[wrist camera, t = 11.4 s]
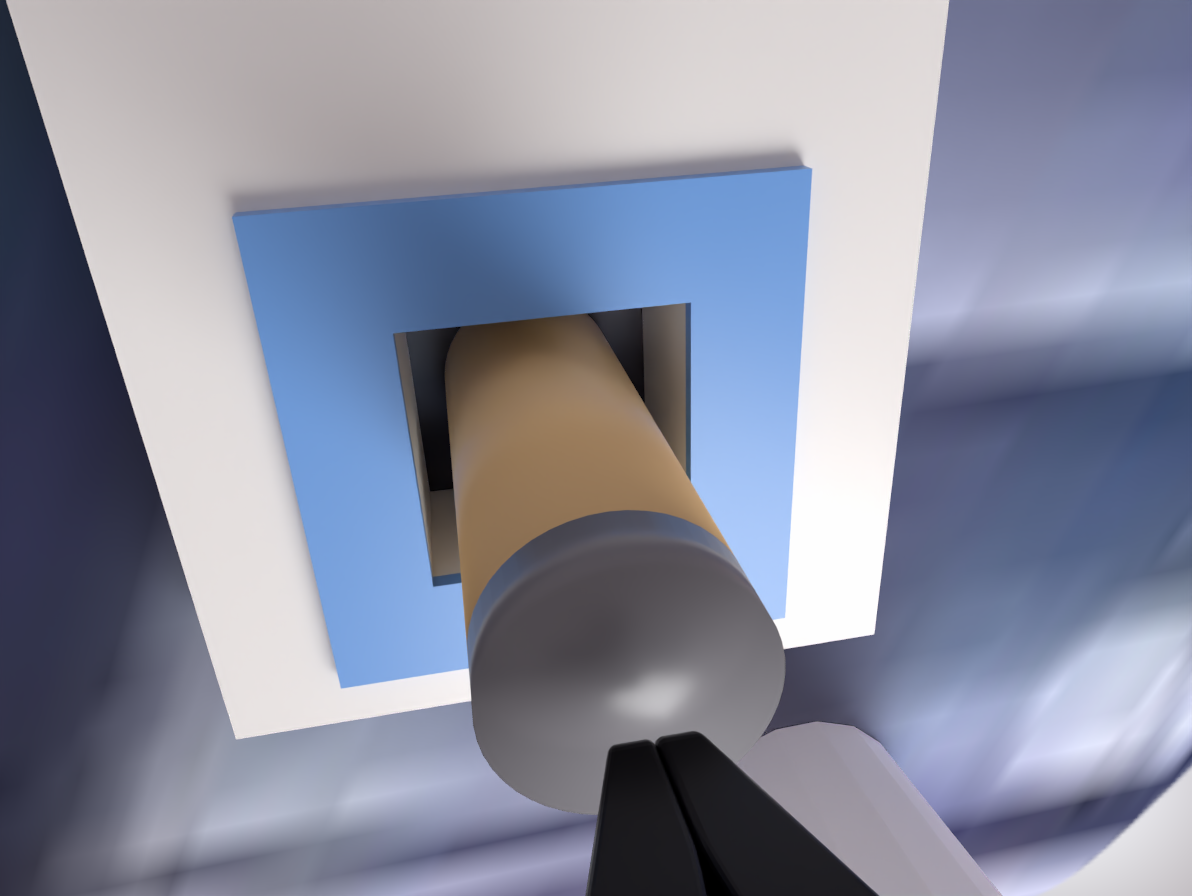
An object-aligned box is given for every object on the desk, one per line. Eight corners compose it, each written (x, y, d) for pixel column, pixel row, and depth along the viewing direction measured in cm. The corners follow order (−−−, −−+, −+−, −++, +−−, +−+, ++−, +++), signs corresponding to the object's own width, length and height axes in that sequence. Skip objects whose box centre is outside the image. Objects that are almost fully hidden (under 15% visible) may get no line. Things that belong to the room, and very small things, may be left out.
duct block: (262, 634, 18) (232, 752, 15) (-249, -1235, 8) (-611, -1915, 5) (812, 551, 20) (881, 644, 17) (935, -1075, 10) (1150, -1528, 7)
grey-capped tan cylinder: (454, 459, 17) (490, 839, 9) (434, 302, 16) (453, 591, 8) (614, 439, 18) (778, 785, 10) (608, 285, 16) (793, 542, 8)
